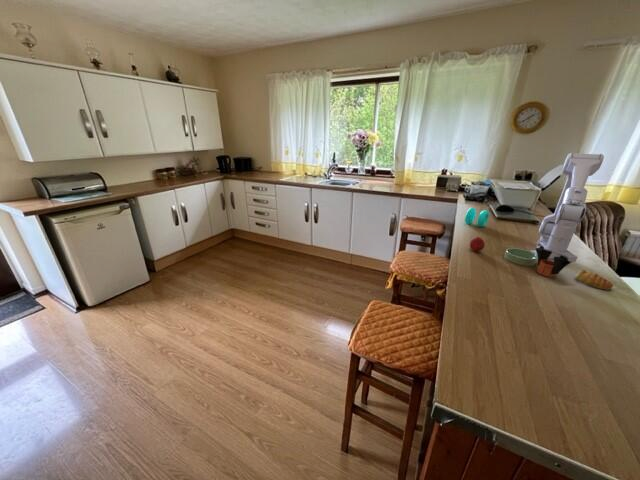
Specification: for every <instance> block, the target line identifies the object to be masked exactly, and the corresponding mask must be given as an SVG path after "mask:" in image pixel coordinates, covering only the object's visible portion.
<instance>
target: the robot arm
mask: <svg viewBox="0 0 640 480" xmlns="http://www.w3.org/2000/svg"><path fill="white" fill-rule="evenodd" d="M604 159H605V156H604V154H603V153H600V154H599V153H577V152H575V153H574V152H570V153H568V154H567V156H566V158H565V160H564V164H563V167H562V169H561V174H562V175H565V176H566V181H565V184H564V186H563V189H562V192H561V193H560V197H559V200H558V201H557V205H556V207H555V210H554V213H552V214H549V215H546V216H544V218H543V219H542V222H541V223H540V225H539V229H538V234H539V235H540V238H539V239H538V240H536V244H535V245H536V248H535V249H532V250H531V249H530V250H529V251H530V252H532V253H534V254H536V255H537V256H538V259H537V267H538V266H539V263H540V261H541V260H549V259H553V261H554V265H553V268H552V271H551V274H556V275H559V273H560V272H562V270H563V269H564V268H566V267H567V266H568V265H569V264H571V263H575V262H577V260H578V255H575V254H574V253H572V252H571V251H569V250H568V248H569V245H570V243H571V241H572V239H573V237H574V234H575V232H576V229H577V227H578V225H579V223H581V222H582V221H583V219H584V217H585V215H586V212H587V203H586V199H587V196H588V189H586V188H585V186H586V184H587V182H588V178H589V177H591V176H593V175H594V174H596V173H597V172H598V171H599V170H600V168H601V166H602V164H603V162H604Z"/></svg>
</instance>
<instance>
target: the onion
mask: <svg viewBox="0 0 640 480" xmlns="http://www.w3.org/2000/svg"><path fill="white" fill-rule="evenodd" d="M481 237H482V236H481V235H477V237H474V238H472V239H471V240H470V242H469V248H470V249H471V250H472V251H473V252H475V253H476V252H477V253H478V252H480V251H482V250H484V248H485V246H486V245H485V241H484V239H483V238H481Z"/></svg>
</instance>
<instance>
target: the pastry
mask: <svg viewBox="0 0 640 480" xmlns="http://www.w3.org/2000/svg"><path fill="white" fill-rule="evenodd" d="M574 278H575V280H577V281H578V282H579V283H582V284H585V285H588V286H590V287H593V288H595V289H600V290H606V291H608V290H612V289H613V287H614V284H613V283H612V282H611V281H610V280H608V279H606V278H604V277H603V276H601V275H599V274H597V273H594V272H592V271H587V270H585V269H581V270H579V272H578V273H577V275H576V276H575V277H574Z"/></svg>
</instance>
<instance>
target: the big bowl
mask: <svg viewBox="0 0 640 480" xmlns="http://www.w3.org/2000/svg"><path fill="white" fill-rule="evenodd" d="M503 257H504V259H505V260H507V261H508V262H511V263H513V264H516V265H519V266H524V267H525V266H527V267H532V266H536V264H537V263H538V255H537V254H535V253H533V252H531V251H530V250H527V249H523V248H517V247H509V248H506V249H505V252H504V256H503Z"/></svg>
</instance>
